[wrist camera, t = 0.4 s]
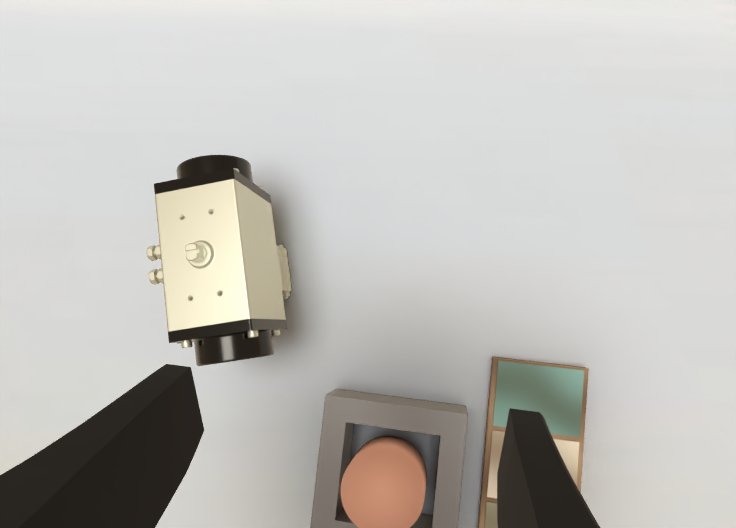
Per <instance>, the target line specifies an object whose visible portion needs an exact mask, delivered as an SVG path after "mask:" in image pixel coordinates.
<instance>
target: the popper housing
mask: <svg viewBox="0 0 736 528" xmlns="http://www.w3.org/2000/svg"><path fill="white" fill-rule="evenodd" d="M467 415H468V414H467V410H466V406H463V405H455V404H448V403H440V402H433V401H425V400H418V399H410V398H403V397H395V396H388V395H380V394H372V393H365V392H357V391H350V390H342V389H335V390H334V391H332V392H330V393H329V394H327V395H326V396H325V404H324V413H323V422H322V430H321V439H320V448H319V457H318V465H317V474H316V483H315V492H314V500H313V509H312V518H311V526H310V528H358V527H357V526H356V525H355V524H354V523H353V522H352V521H351V520H350V518H349V517H348V515H347V514H346V511H345V509H344V507H343V504H342V499H341V482H342V478H343V475H344V473H345V470H346V469H347V467H348V465H349V464H350V456H351V447H352V437H353V428H354V424H361V425H368V426H375V427H382V428H389V429H396V430H403V431H410V432H417V433H424V434H431V435H438V436H440V444H439V455H438V466H437V477H436V487H435V498H434V509H433V516H427V515H421V514H420V516H419V517H418V519H417V521H416V522H415V523H414V524H413V525H412V526H411V527H410V528H458V517H459V506H460V494H461V483H462V472H463V460H464V449H465V438H466V426H467Z"/></svg>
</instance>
